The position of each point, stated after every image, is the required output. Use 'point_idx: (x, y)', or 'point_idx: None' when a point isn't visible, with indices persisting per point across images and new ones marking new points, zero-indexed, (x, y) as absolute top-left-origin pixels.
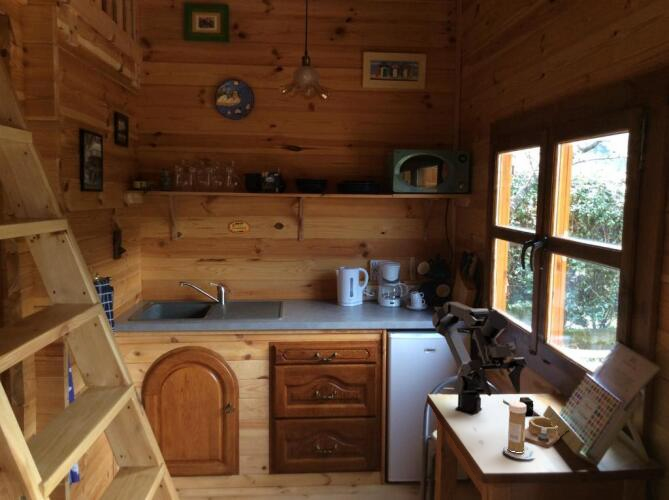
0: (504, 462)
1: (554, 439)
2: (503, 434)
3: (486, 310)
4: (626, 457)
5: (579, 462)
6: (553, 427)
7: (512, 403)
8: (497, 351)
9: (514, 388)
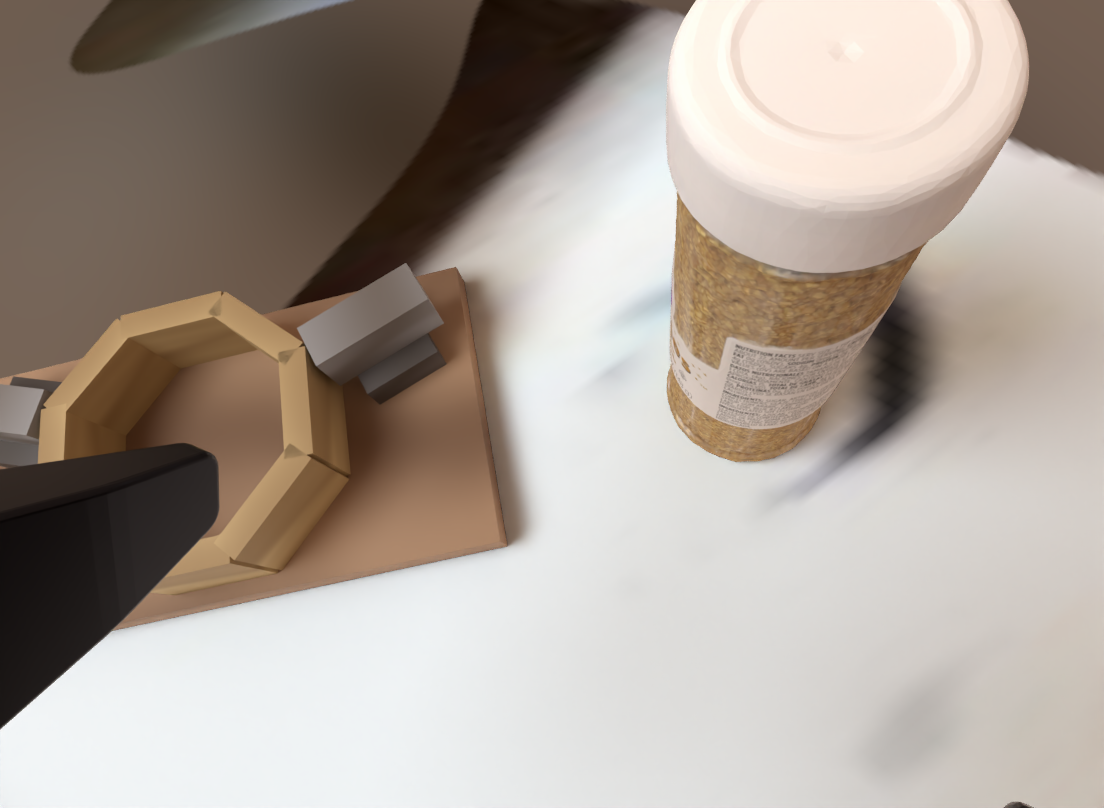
0: (1022, 306)
1: (325, 299)
2: (545, 694)
3: None
4: None
5: (494, 52)
6: (222, 313)
7: (928, 112)
8: None
9: (90, 646)
